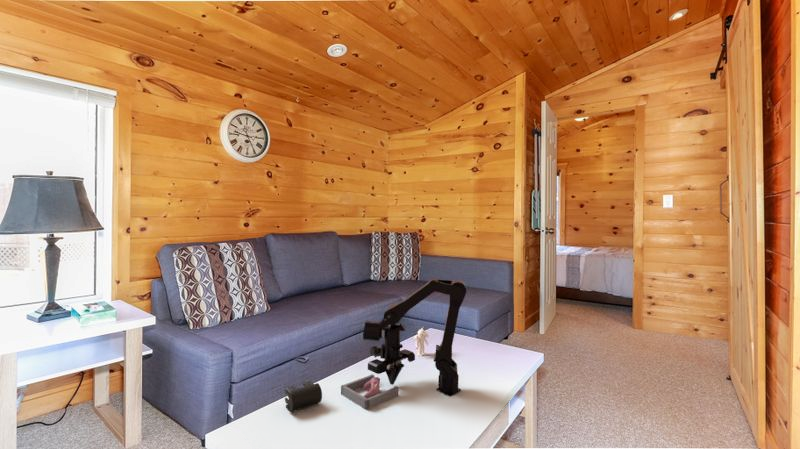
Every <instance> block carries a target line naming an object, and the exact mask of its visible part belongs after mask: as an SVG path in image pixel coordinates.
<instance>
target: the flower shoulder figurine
mask: <svg viewBox="0 0 800 449" xmlns="http://www.w3.org/2000/svg"><path fill="white" fill-rule="evenodd" d="M428 338H429V333H428V332H427V331H425V330H424V327H421V329H420V328H419V329H418V330H417V334H416V335H415V336H413V340H414V342H415V349H416V350H418V351H417V356H419V357H423V355H426V354H427V353H426V352H425V345H427V346H429V342H428Z"/></svg>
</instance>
